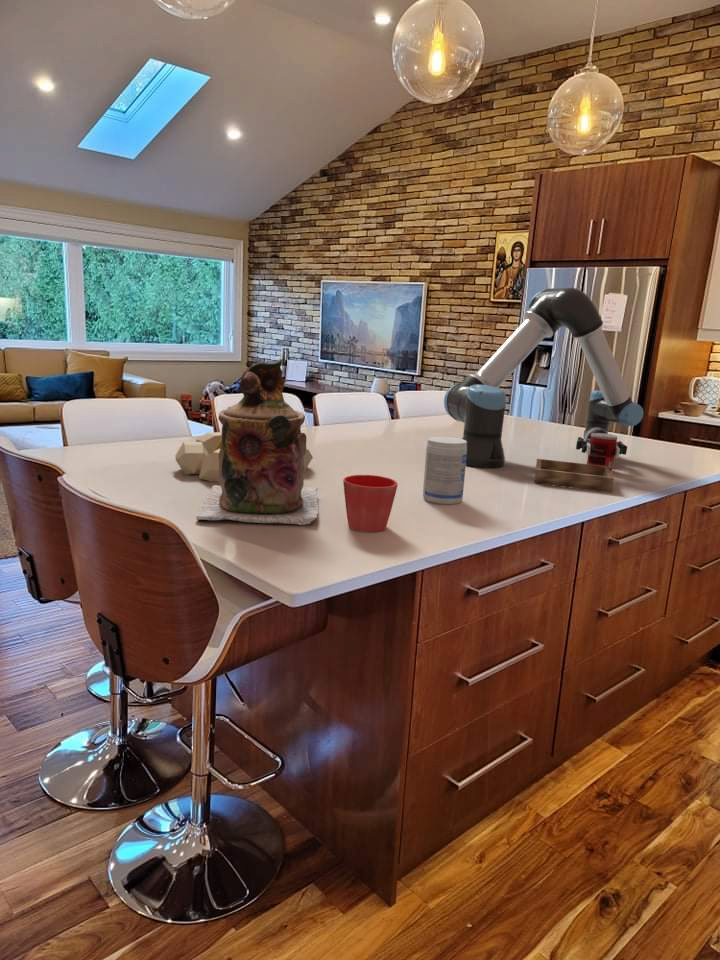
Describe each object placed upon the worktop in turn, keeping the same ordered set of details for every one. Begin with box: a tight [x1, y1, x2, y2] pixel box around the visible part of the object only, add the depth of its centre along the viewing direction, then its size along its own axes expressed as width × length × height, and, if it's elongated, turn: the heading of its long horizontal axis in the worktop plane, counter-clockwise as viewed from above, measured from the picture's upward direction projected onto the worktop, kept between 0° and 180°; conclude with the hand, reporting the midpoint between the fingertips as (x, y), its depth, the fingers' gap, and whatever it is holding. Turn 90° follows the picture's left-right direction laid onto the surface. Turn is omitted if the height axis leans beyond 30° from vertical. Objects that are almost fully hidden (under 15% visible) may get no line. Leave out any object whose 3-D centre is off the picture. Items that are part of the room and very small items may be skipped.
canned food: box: [586, 433, 618, 472], centre depth 199 cm, size 8×8×11 cm
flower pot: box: [342, 474, 399, 533], centre depth 130 cm, size 11×11×10 cm
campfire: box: [174, 406, 314, 483], centre depth 171 cm, size 35×34×17 cm
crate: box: [534, 458, 614, 494], centre depth 182 cm, size 20×16×4 cm
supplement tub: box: [422, 436, 467, 505], centre depth 153 cm, size 10×10×15 cm
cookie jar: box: [195, 358, 320, 526], centre depth 135 cm, size 25×25×32 cm
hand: (603, 452), depth 195 cm, fingers closed on canned food, 8 cm apart
